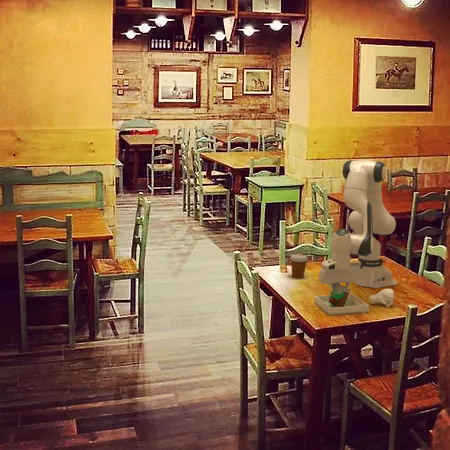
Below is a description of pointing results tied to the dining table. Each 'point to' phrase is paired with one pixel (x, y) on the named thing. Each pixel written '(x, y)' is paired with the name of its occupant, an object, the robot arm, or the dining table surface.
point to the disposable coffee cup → (298, 265)
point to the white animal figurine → (383, 297)
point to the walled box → (350, 307)
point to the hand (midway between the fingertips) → (338, 291)
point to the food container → (339, 295)
